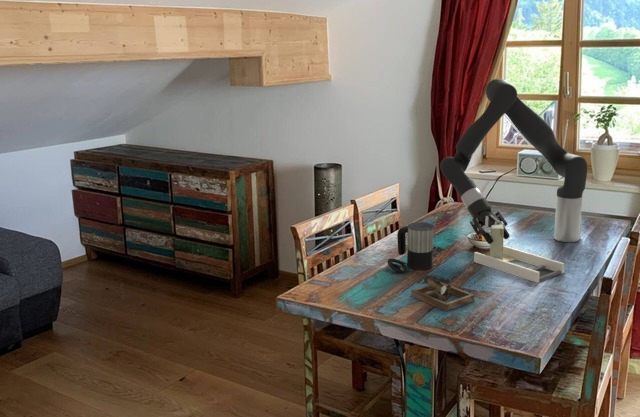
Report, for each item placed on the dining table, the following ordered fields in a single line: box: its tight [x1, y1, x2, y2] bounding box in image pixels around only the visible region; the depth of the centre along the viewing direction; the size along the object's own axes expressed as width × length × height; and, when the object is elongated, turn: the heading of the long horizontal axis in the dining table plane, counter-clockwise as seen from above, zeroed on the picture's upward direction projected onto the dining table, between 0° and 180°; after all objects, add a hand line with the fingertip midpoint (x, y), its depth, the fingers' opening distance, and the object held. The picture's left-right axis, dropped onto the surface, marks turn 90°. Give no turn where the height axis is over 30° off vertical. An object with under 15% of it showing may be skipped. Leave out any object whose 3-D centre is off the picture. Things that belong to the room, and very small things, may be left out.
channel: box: [473, 244, 565, 283], centre depth 235 cm, size 14×27×4 cm, turn 35°
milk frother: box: [386, 221, 435, 273], centre depth 236 cm, size 14×16×15 cm
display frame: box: [411, 281, 475, 312], centre depth 210 cm, size 12×15×2 cm
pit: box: [532, 265, 562, 283], centre depth 227 cm, size 11×7×1 cm, turn 125°
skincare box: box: [489, 223, 504, 260], centre depth 241 cm, size 6×4×12 cm
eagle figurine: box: [423, 275, 453, 300], centre depth 210 cm, size 8×7×9 cm
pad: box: [503, 255, 515, 263], centre depth 242 cm, size 11×8×1 cm
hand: (499, 240), depth 239 cm, fingers open, 8 cm apart
